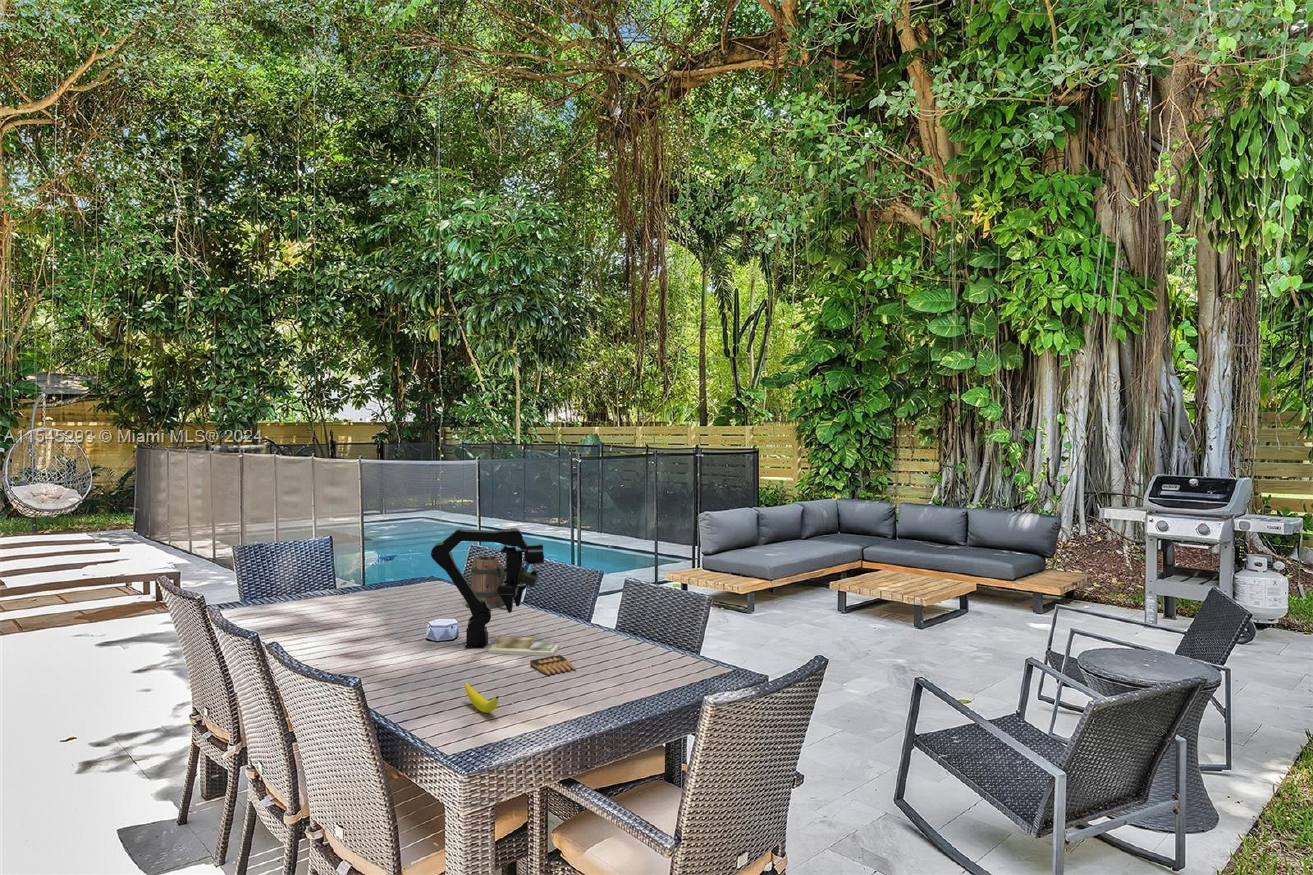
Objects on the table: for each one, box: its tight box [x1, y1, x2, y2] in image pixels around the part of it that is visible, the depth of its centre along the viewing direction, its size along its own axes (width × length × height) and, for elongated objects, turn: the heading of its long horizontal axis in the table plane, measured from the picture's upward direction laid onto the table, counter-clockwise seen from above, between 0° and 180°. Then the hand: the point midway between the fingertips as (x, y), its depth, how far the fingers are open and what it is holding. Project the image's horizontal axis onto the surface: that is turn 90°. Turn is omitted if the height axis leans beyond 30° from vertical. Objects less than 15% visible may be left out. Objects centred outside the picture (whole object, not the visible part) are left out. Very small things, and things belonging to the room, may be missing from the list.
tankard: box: [465, 555, 506, 610], centre depth 323 cm, size 24×17×20 cm
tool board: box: [487, 643, 560, 657], centre depth 259 cm, size 22×9×1 cm, turn 84°
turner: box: [495, 636, 556, 651], centre depth 259 cm, size 19×6×3 cm, turn 84°
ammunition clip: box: [529, 654, 577, 676], centre depth 240 cm, size 11×2×12 cm
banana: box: [464, 682, 500, 714], centre depth 205 cm, size 3×19×6 cm, turn 39°
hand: (513, 609), depth 267 cm, fingers open, 9 cm apart
